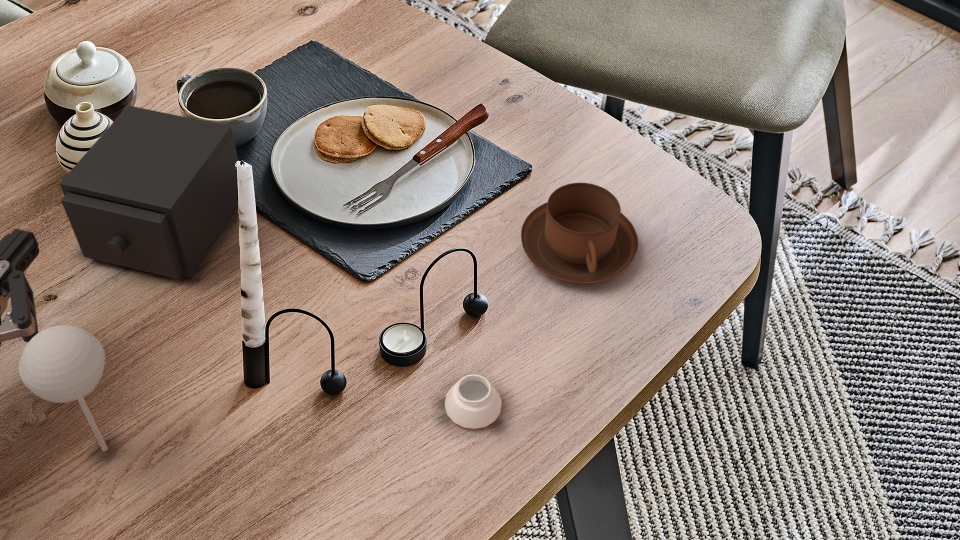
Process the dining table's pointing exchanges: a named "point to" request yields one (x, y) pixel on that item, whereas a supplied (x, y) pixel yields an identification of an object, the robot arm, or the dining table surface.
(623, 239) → the cup and saucer
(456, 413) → the lidless jar
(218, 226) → the small drawer cabinet
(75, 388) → the lollipop
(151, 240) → the black rectangular drawer
